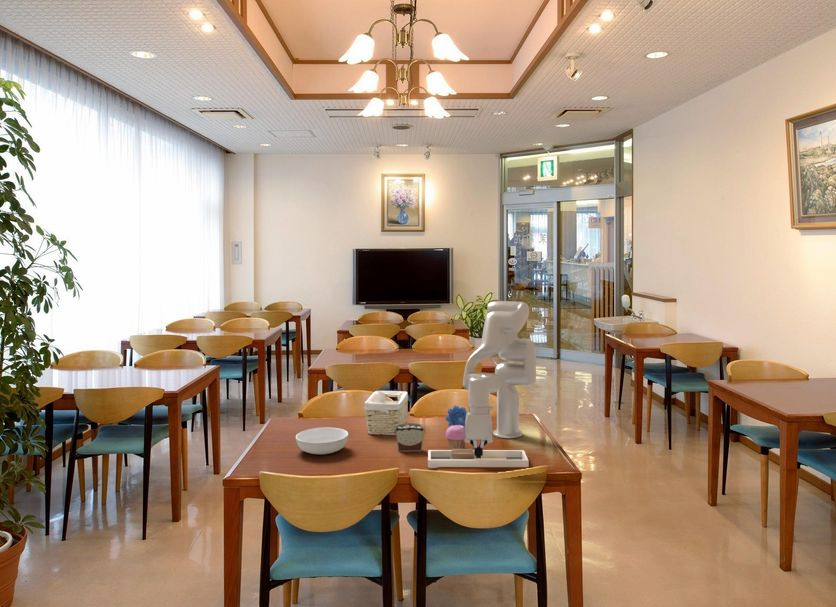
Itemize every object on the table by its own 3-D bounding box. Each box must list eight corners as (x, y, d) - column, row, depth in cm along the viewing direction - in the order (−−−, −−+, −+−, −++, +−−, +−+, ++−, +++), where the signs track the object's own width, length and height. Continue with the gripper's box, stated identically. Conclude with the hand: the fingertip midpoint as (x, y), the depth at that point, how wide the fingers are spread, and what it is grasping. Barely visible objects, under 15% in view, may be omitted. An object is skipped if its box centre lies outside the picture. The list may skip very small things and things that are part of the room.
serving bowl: (291, 446, 264) (291, 430, 263) (341, 441, 271) (341, 425, 271) (301, 462, 244) (300, 444, 244) (354, 455, 252) (354, 438, 251)
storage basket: (400, 436, 277) (400, 403, 276) (363, 435, 280) (363, 402, 278) (409, 422, 301) (409, 390, 300) (375, 420, 303) (375, 390, 302)
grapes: (448, 435, 278) (448, 408, 277) (444, 431, 285) (444, 404, 284) (474, 433, 280) (474, 406, 279) (469, 429, 287) (469, 403, 286)
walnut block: (451, 459, 246) (451, 448, 245) (472, 458, 246) (472, 448, 245) (452, 464, 240) (452, 453, 239) (473, 464, 240) (473, 453, 239)
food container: (424, 446, 263) (424, 422, 263) (425, 451, 257) (425, 426, 256) (394, 446, 263) (394, 422, 262) (394, 451, 257) (394, 426, 256)
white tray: (428, 457, 249) (428, 450, 249) (523, 457, 248) (523, 450, 248) (428, 468, 237) (427, 460, 237) (528, 468, 236) (528, 460, 236)
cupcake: (471, 448, 260) (471, 424, 259) (461, 454, 253) (461, 429, 252) (452, 445, 265) (451, 421, 264) (441, 450, 257) (441, 426, 256)
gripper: (497, 407, 244) (497, 454, 246) (458, 407, 245) (458, 454, 246) (499, 412, 237) (499, 460, 238) (459, 412, 237) (459, 460, 239)
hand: (478, 457), depth 242 cm, fingers closed
